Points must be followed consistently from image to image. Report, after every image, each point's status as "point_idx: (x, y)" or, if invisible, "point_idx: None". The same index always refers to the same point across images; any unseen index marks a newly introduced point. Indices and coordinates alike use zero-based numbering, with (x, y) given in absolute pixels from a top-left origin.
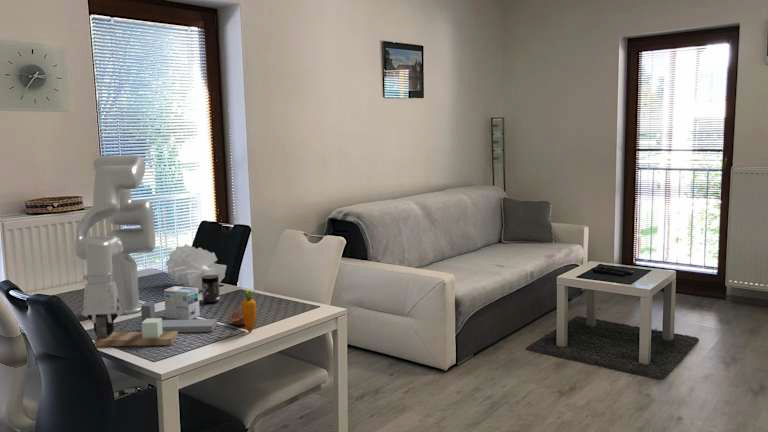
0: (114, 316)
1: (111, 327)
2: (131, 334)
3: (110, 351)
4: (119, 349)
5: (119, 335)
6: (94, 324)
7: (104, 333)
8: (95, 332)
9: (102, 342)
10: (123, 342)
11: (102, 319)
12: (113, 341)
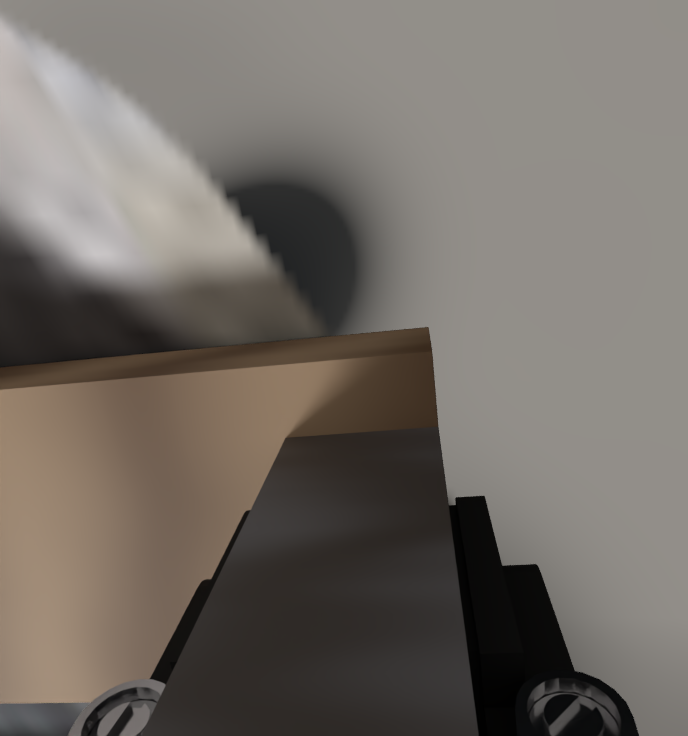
0: None
1: (186, 623)
2: (25, 610)
3: (111, 152)
4: (38, 244)
5: (167, 574)
6: (551, 669)
7: (290, 475)
8: (487, 517)
9: (314, 352)
10: (16, 375)
11: (234, 708)
12: (146, 371)
